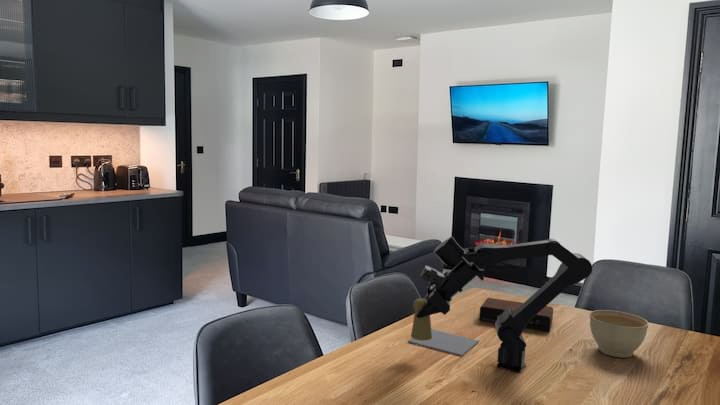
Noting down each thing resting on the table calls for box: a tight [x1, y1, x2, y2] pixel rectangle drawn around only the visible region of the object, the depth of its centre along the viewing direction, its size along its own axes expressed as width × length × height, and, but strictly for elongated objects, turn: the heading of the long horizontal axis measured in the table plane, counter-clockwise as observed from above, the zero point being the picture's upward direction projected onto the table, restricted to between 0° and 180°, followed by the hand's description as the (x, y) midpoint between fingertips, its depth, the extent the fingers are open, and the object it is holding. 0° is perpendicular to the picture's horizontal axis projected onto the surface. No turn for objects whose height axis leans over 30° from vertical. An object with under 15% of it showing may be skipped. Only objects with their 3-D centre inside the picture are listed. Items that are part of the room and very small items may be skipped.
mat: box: [407, 328, 480, 357], centre depth 165 cm, size 18×14×1 cm
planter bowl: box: [589, 309, 649, 358], centre depth 161 cm, size 16×16×11 cm
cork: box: [410, 297, 432, 340], centre depth 151 cm, size 6×6×11 cm
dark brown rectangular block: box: [479, 297, 554, 333], centre depth 187 cm, size 24×12×6 cm, turn 66°
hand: (417, 313), depth 151 cm, fingers closed on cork, 5 cm apart
